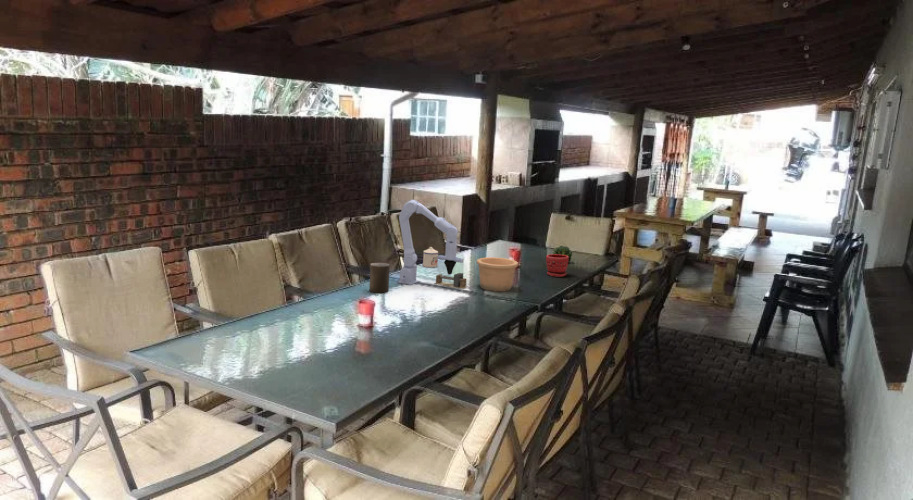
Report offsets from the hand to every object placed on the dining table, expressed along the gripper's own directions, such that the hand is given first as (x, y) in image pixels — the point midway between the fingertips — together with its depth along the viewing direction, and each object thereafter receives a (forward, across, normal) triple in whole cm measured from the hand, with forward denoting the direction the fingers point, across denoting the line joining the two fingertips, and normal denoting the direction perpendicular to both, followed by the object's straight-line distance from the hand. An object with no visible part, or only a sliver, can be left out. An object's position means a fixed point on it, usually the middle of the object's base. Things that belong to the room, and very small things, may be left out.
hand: (449, 274), depth 350 cm
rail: (+6, -1, 0) cm, 6 cm away
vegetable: (+6, -30, -102) cm, 106 cm away
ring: (+6, -5, 0) cm, 8 cm away
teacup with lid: (+6, +32, -37) cm, 49 cm away
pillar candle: (+6, +22, +34) cm, 41 cm away
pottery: (+6, -22, -12) cm, 26 cm away
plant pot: (+6, -38, -64) cm, 75 cm away
